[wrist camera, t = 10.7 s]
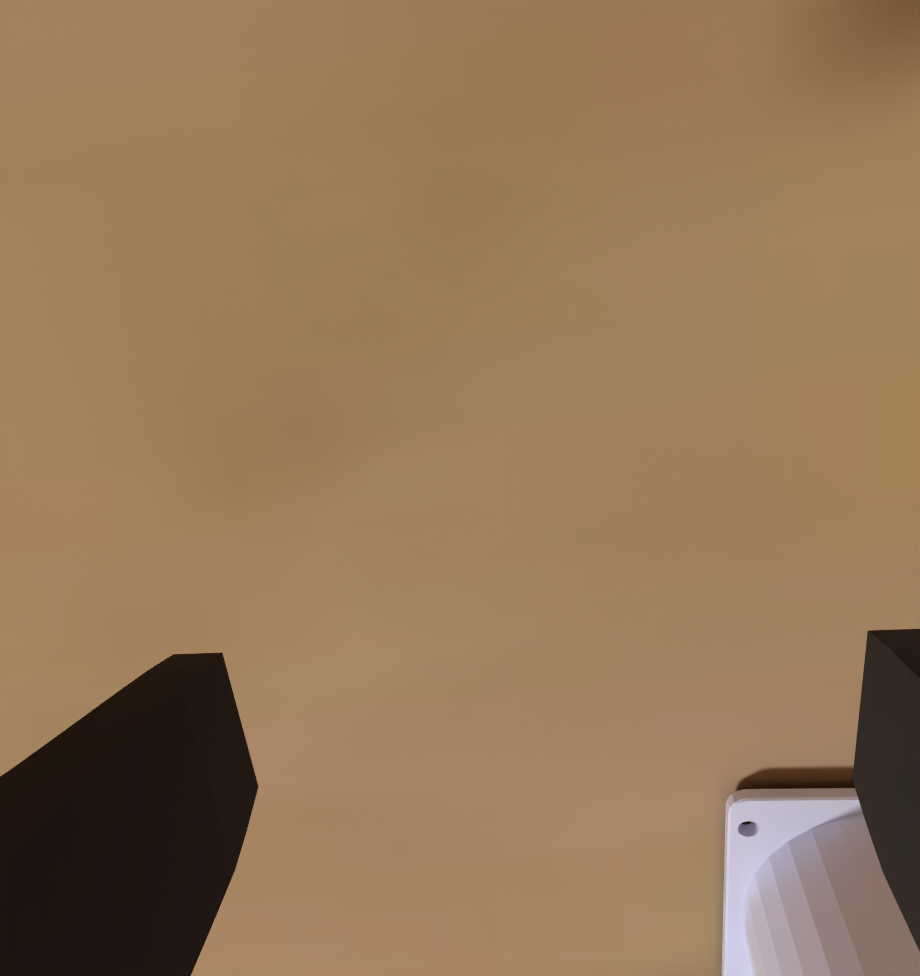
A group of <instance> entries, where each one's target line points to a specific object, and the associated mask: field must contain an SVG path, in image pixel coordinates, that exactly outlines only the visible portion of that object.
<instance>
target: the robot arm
mask: <svg viewBox="0 0 920 976" xmlns="http://www.w3.org/2000/svg"><path fill="white" fill-rule="evenodd" d="M852 780H853V784H854V787H855V788H809V789H744V790H738V791H736V792H734V793H732V794H731V795H730V796H729V798H728V799H727V802H726V822H725V863H724V904H723V944H722V976H920V629H902V630H873V631H868V634H867V644H866V654H865V663H864V673H863V683H862V692H861V702H860V712H859V721H858V731H857V741H856V750H855V760H854V770H853V779H852ZM257 790H258V784H257V780H256V776H255V773H254V769H253V765H252V761H251V758H250V754H249V750H248V747H247V743H246V739H245V735H244V732H243V728H242V724H241V721H240V717H239V713H238V710H237V706H236V702H235V698H234V695H233V691H232V687H231V684H230V680H229V676H228V672H227V669H226V665H225V661H224V658H223V654H222V653H200V654H174V655H172V656H170V657H169V658H167V659H165V660H164V661H162V662H161V663H159V664H157V665H156V666H154V667H153V668H151V669H150V670H148V671H147V672H145V673H144V674H142V675H141V676H140V677H138V678H137V679H135V680H134V681H132V682H131V683H130V684H128V685H127V686H125V687H124V688H123V689H121V690H120V691H118V692H117V693H116V694H114V695H113V696H112V697H110V698H109V699H107V700H106V701H105V702H103V703H102V704H101V705H99V706H98V707H96V708H95V709H94V710H92V711H91V712H90V713H88V714H87V715H86V716H84V717H83V718H81V719H80V720H79V721H77V722H76V723H75V724H73V725H72V726H70V727H69V728H68V729H66V730H65V731H63V732H62V733H61V734H59V735H58V736H57V737H55V738H54V739H52V740H51V741H50V742H48V743H47V744H46V745H44V746H43V747H41V748H40V749H39V750H37V751H36V752H35V753H33V754H32V755H30V756H29V757H28V758H26V759H25V760H24V761H22V762H21V763H19V764H18V765H17V766H15V767H14V768H12V769H11V770H10V771H8V772H7V773H5V774H4V775H2V776H1V777H0V976H191V973H192V971H193V969H194V966H195V964H196V962H197V959H198V957H199V955H200V952H201V950H202V948H203V945H204V943H205V941H206V938H207V936H208V934H209V931H210V929H211V926H212V924H213V922H214V919H215V917H216V914H217V912H218V910H219V907H220V905H221V903H222V900H223V898H224V895H225V893H226V891H227V888H228V886H229V883H230V881H231V878H232V876H233V873H234V871H235V868H236V865H237V861H238V858H239V855H240V851H241V848H242V845H243V841H244V838H245V835H246V831H247V827H248V824H249V820H250V816H251V812H252V809H253V805H254V801H255V797H256V794H257ZM747 821H750V822H752V823H751V824H747V825H743V824H741V823H743V822H747Z"/></svg>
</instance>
